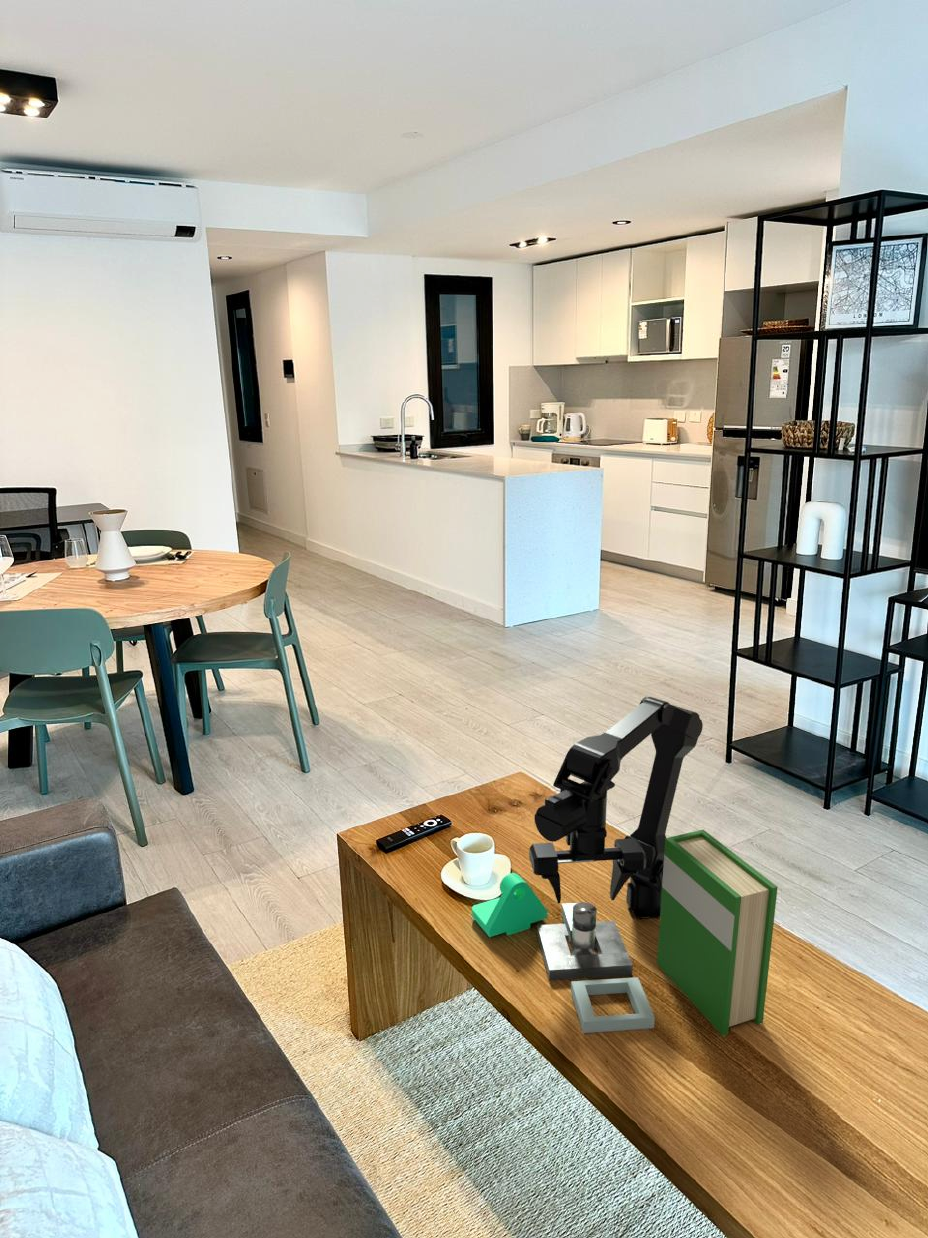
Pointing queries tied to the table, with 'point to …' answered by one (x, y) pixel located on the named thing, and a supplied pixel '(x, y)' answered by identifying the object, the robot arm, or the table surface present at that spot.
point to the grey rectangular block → (568, 917)
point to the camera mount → (510, 908)
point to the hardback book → (715, 929)
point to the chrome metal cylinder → (583, 929)
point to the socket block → (603, 964)
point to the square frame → (613, 1022)
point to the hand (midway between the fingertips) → (585, 900)
